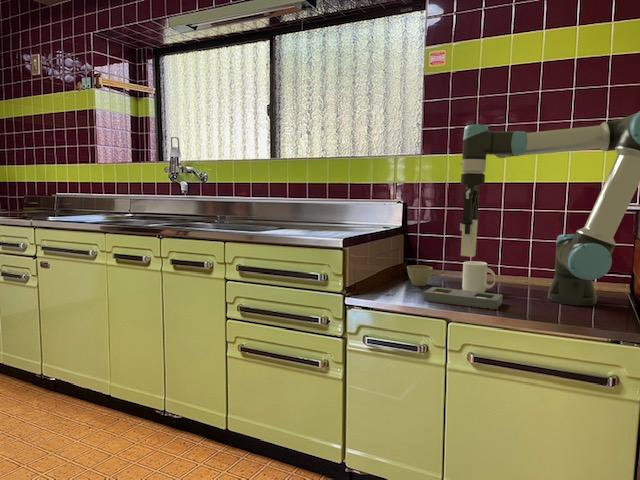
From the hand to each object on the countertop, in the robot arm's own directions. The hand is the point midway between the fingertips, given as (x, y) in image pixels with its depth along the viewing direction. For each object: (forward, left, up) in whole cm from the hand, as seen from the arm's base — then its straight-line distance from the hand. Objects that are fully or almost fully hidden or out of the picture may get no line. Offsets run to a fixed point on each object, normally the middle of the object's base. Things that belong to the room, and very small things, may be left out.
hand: (468, 243), depth 163 cm
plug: (0, 0, -4) cm, 4 cm away
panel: (+1, 0, -20) cm, 20 cm away
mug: (0, -20, -21) cm, 29 cm away
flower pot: (+23, -20, -20) cm, 37 cm away
